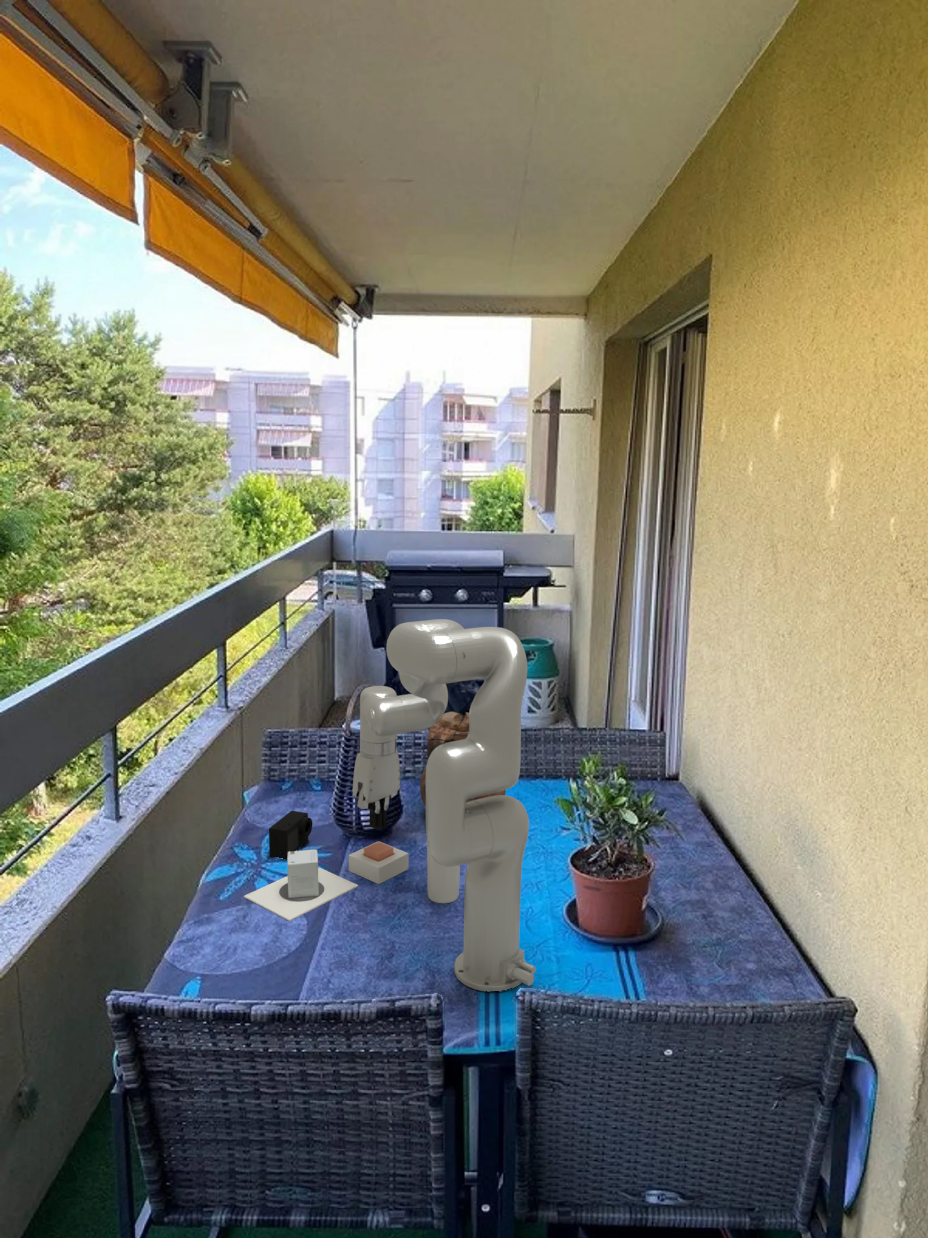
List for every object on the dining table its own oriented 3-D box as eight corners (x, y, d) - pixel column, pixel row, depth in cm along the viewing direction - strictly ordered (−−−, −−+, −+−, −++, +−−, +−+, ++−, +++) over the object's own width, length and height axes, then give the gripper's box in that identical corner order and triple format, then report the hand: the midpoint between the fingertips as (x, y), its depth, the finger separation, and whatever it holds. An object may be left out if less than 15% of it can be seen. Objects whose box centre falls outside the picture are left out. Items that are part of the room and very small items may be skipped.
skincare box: (319, 896, 176) (318, 862, 175) (288, 899, 175) (287, 864, 174) (318, 882, 182) (317, 848, 181) (288, 884, 181) (287, 851, 179)
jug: (428, 797, 228) (428, 704, 224) (508, 803, 226) (511, 709, 221) (411, 833, 207) (411, 731, 202) (500, 840, 204) (502, 736, 199)
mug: (455, 906, 174) (456, 849, 172) (422, 902, 175) (423, 845, 173) (466, 882, 184) (467, 828, 181) (435, 878, 185) (436, 825, 183)
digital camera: (291, 861, 192) (290, 831, 191) (269, 858, 193) (268, 828, 192) (313, 842, 202) (312, 813, 200) (292, 838, 203) (291, 810, 202)
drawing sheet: (358, 886, 181) (358, 884, 181) (289, 921, 167) (289, 919, 167) (312, 865, 190) (312, 864, 190) (244, 897, 176) (243, 895, 176)
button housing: (408, 869, 189) (408, 853, 188) (378, 884, 182) (378, 868, 182) (378, 856, 195) (378, 841, 194) (348, 870, 188) (348, 855, 187)
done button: (393, 858, 188) (393, 847, 188) (378, 865, 185) (378, 854, 185) (378, 852, 191) (378, 841, 191) (364, 859, 188) (364, 848, 187)
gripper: (390, 732, 191) (389, 811, 195) (339, 750, 180) (339, 833, 184) (415, 741, 187) (414, 821, 191) (365, 759, 175) (364, 845, 179)
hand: (377, 827), depth 187 cm, fingers closed
